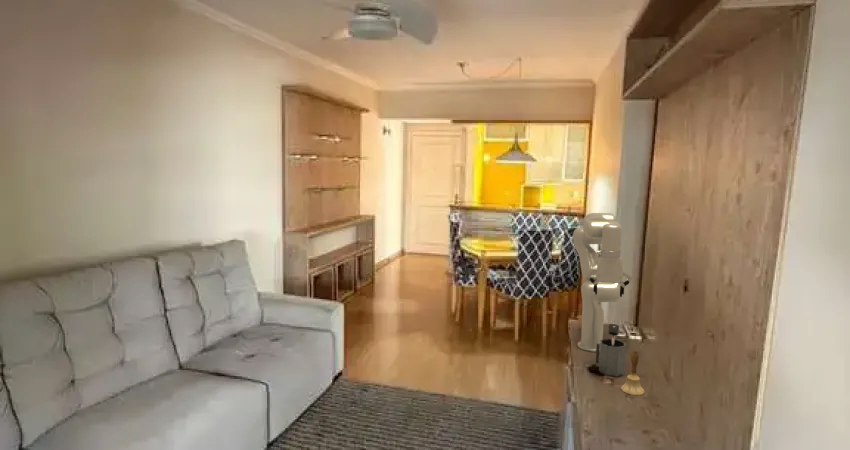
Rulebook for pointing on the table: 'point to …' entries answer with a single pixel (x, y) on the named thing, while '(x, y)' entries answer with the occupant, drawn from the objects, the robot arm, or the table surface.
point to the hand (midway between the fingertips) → (608, 294)
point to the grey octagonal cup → (611, 357)
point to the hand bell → (633, 378)
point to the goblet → (613, 331)
